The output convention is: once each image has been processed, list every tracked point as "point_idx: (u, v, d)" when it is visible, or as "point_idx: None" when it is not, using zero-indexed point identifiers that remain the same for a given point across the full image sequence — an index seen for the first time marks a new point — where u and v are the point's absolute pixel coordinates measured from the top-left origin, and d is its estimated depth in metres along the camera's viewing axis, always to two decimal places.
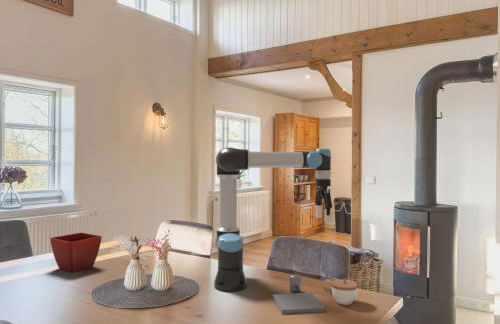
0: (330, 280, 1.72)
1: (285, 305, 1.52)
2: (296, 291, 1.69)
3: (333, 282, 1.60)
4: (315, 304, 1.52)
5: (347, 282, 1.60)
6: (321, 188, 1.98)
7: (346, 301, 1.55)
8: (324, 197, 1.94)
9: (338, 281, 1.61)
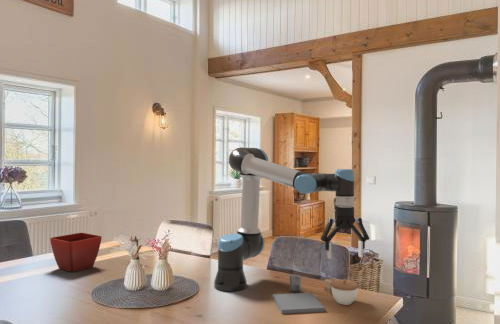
0: (330, 280, 1.72)
1: (285, 305, 1.52)
2: (296, 291, 1.69)
3: (333, 282, 1.60)
4: (315, 304, 1.52)
5: (347, 282, 1.60)
6: None
7: (346, 301, 1.55)
8: None
9: (338, 281, 1.61)
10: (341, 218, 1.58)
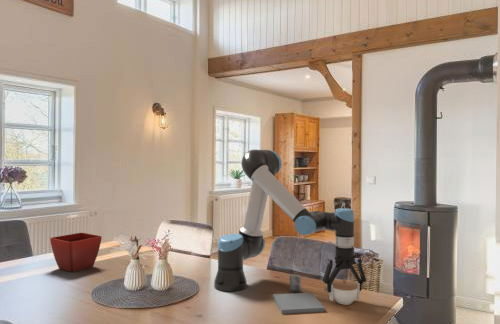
0: None
1: (285, 305, 1.52)
2: (296, 291, 1.69)
3: (333, 282, 1.60)
4: (315, 304, 1.52)
5: (347, 282, 1.60)
6: None
7: (346, 301, 1.55)
8: (334, 269, 1.59)
9: (338, 281, 1.61)
10: (340, 258, 1.58)
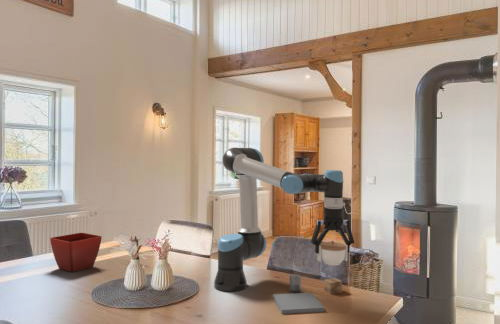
0: (330, 280, 1.72)
1: (285, 305, 1.52)
2: (296, 291, 1.69)
3: (321, 244, 1.60)
4: (315, 304, 1.52)
5: (335, 244, 1.60)
6: None
7: (334, 261, 1.54)
8: (322, 230, 1.59)
9: (326, 243, 1.61)
10: (329, 219, 1.57)
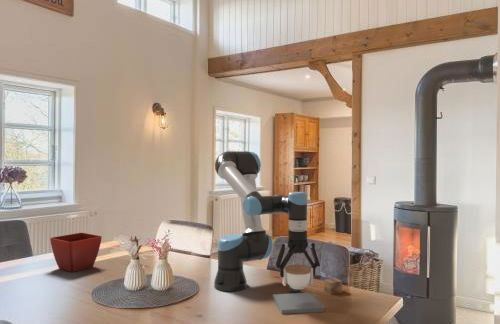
0: (330, 280, 1.72)
1: (285, 305, 1.52)
2: (296, 291, 1.69)
3: (286, 267, 1.57)
4: (315, 304, 1.52)
5: (301, 267, 1.57)
6: None
7: (298, 285, 1.52)
8: (287, 253, 1.56)
9: (292, 266, 1.58)
10: (293, 242, 1.55)
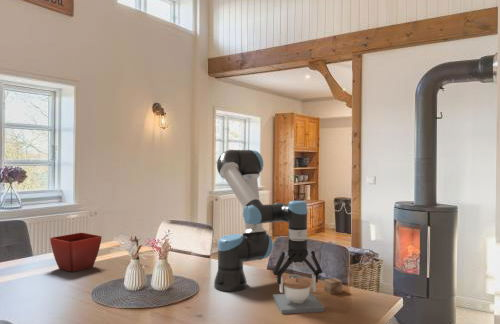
0: (330, 280, 1.72)
1: (285, 305, 1.52)
2: None
3: (286, 280, 1.57)
4: (315, 304, 1.52)
5: (300, 280, 1.57)
6: None
7: (297, 300, 1.52)
8: (286, 261, 1.56)
9: (291, 279, 1.58)
10: (293, 251, 1.55)
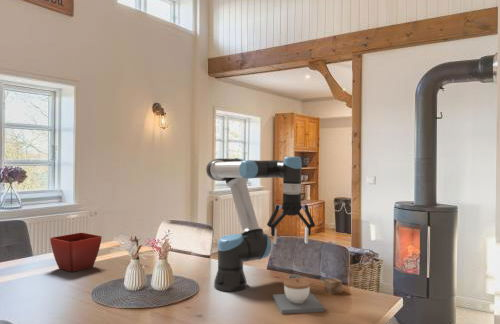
0: (330, 280, 1.72)
1: (285, 305, 1.52)
2: None
3: (286, 280, 1.57)
4: (315, 304, 1.52)
5: (300, 280, 1.57)
6: None
7: (297, 300, 1.52)
8: (280, 214, 1.62)
9: (291, 279, 1.58)
10: (287, 205, 1.60)
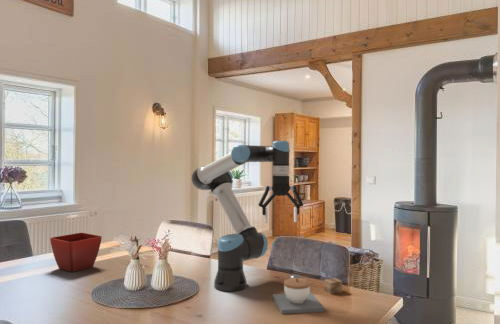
0: (330, 280, 1.72)
1: (285, 305, 1.52)
2: None
3: (286, 280, 1.57)
4: (315, 304, 1.52)
5: (300, 280, 1.57)
6: None
7: (297, 300, 1.52)
8: None
9: (291, 279, 1.58)
10: (277, 186, 1.72)
